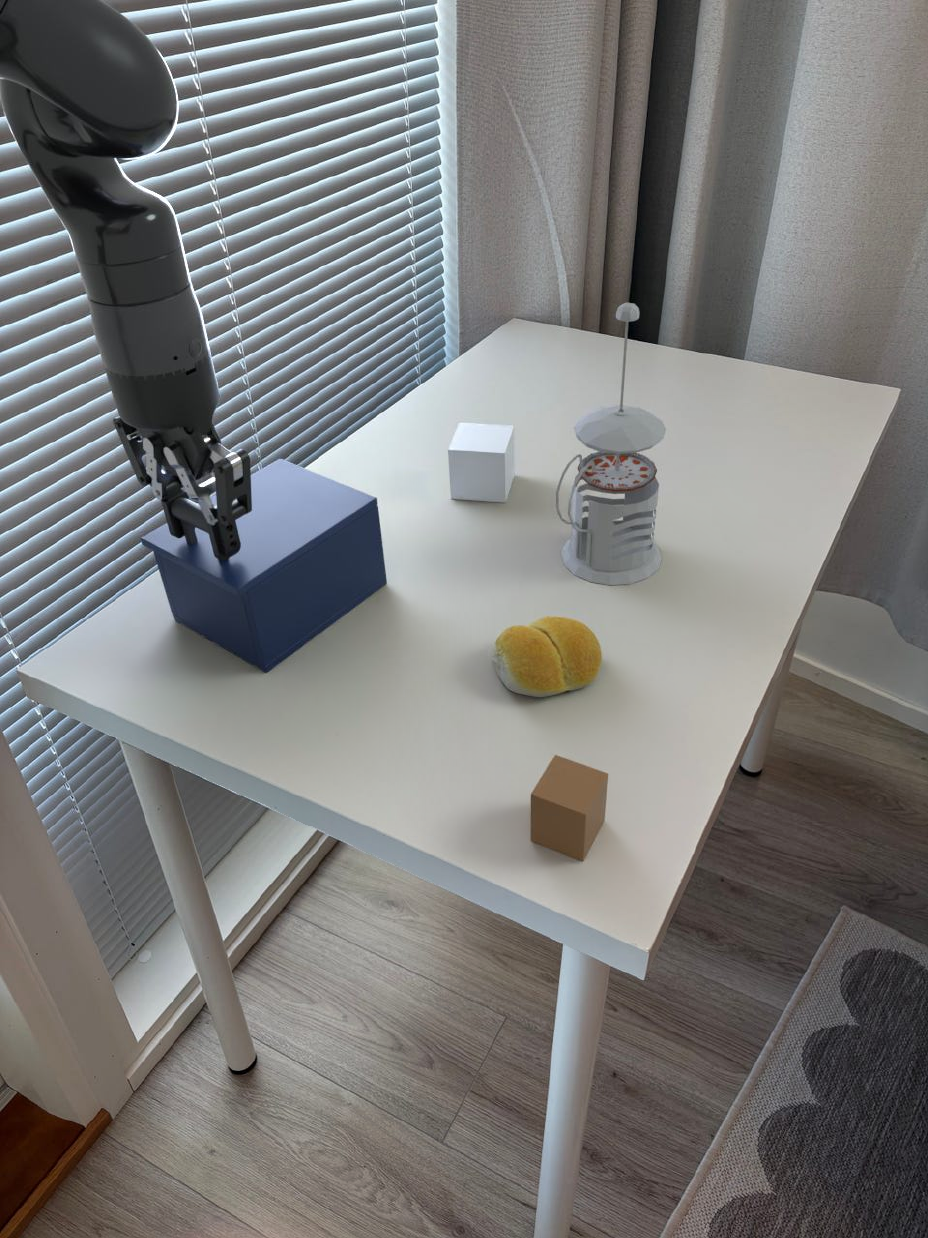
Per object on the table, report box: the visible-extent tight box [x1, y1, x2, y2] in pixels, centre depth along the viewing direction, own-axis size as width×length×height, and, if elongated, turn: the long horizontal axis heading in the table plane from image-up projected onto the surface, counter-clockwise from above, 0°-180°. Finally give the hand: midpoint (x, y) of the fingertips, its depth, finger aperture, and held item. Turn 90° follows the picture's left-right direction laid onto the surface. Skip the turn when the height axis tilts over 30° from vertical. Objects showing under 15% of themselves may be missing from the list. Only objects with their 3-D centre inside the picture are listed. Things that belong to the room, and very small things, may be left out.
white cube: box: [447, 422, 516, 504], centre depth 102 cm, size 6×6×6 cm
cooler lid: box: [140, 458, 378, 596], centre depth 82 cm, size 16×13×5 cm
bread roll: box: [491, 615, 603, 698], centre depth 79 cm, size 8×9×4 cm
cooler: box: [152, 505, 388, 674], centre depth 87 cm, size 16×13×9 cm
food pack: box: [530, 754, 609, 862], centre depth 66 cm, size 4×4×5 cm
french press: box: [555, 302, 667, 586], centre depth 85 cm, size 10×12×25 cm
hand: (206, 543), depth 79 cm, fingers closed on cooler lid, 5 cm apart
